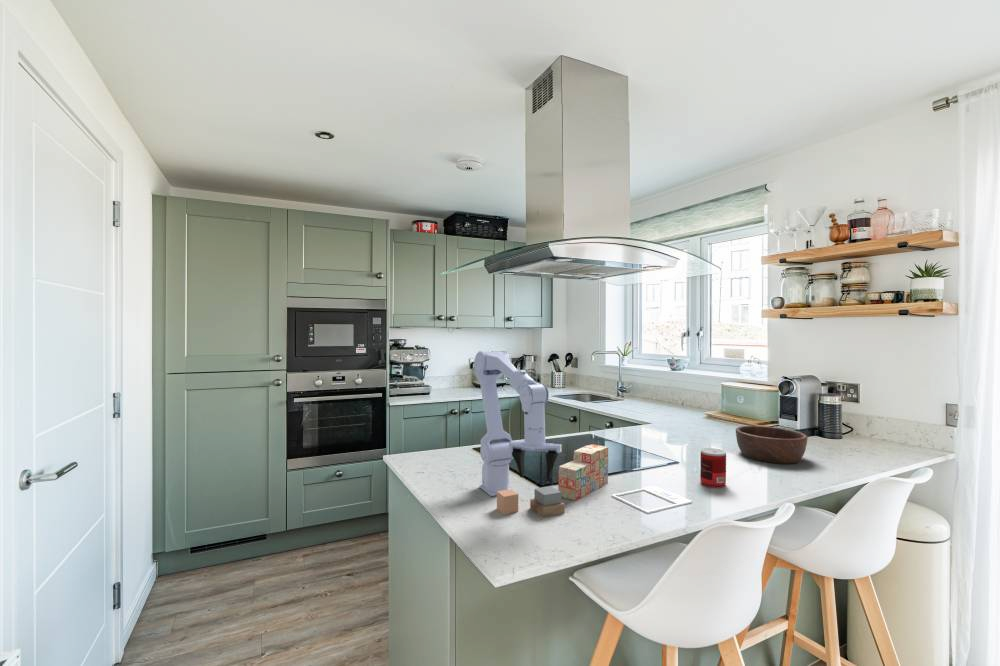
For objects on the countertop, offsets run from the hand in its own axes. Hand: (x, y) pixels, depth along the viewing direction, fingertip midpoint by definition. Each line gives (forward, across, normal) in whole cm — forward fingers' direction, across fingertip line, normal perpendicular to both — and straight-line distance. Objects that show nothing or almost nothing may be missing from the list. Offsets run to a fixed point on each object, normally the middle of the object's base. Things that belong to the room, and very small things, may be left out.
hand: (535, 477), depth 126 cm
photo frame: (+11, +30, +23) cm, 39 cm away
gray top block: (+8, +2, +4) cm, 9 cm away
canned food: (+11, +48, +45) cm, 67 cm away
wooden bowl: (+10, +74, +89) cm, 116 cm away
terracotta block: (+10, -9, 0) cm, 13 cm away
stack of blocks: (+10, +9, +25) cm, 29 cm away
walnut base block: (+11, +2, +4) cm, 12 cm away
